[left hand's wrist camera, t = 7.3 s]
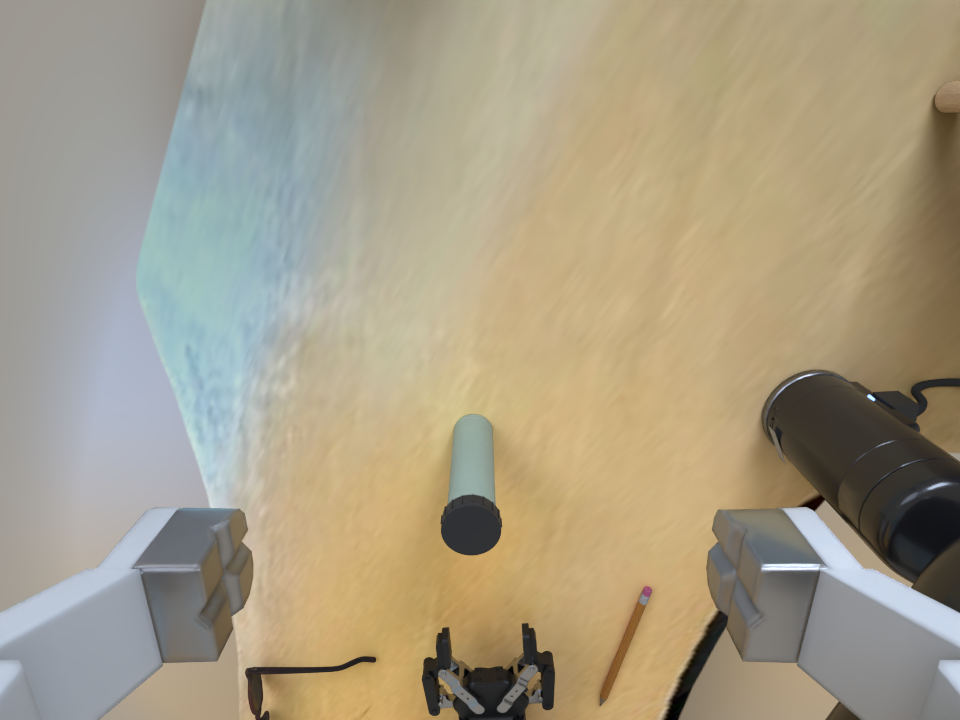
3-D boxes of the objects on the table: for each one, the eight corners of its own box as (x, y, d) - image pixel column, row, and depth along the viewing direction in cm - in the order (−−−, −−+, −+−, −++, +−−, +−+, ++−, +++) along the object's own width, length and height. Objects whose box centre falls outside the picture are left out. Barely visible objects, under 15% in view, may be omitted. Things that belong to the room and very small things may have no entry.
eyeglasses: (253, 651, 74) (238, 686, 70) (376, 650, 74) (369, 686, 70) (268, 736, 80) (255, 775, 75) (383, 736, 80) (377, 775, 75)
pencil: (642, 586, 71) (594, 703, 77) (648, 592, 70) (599, 710, 76) (648, 584, 71) (600, 701, 78) (654, 591, 70) (605, 708, 77)
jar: (458, 451, 65) (452, 552, 50) (450, 418, 63) (440, 511, 48) (496, 444, 64) (500, 543, 49) (488, 410, 63) (490, 502, 48)
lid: (448, 548, 51) (447, 560, 49) (434, 499, 49) (433, 511, 48) (506, 537, 50) (507, 550, 49) (494, 488, 49) (494, 499, 47)
